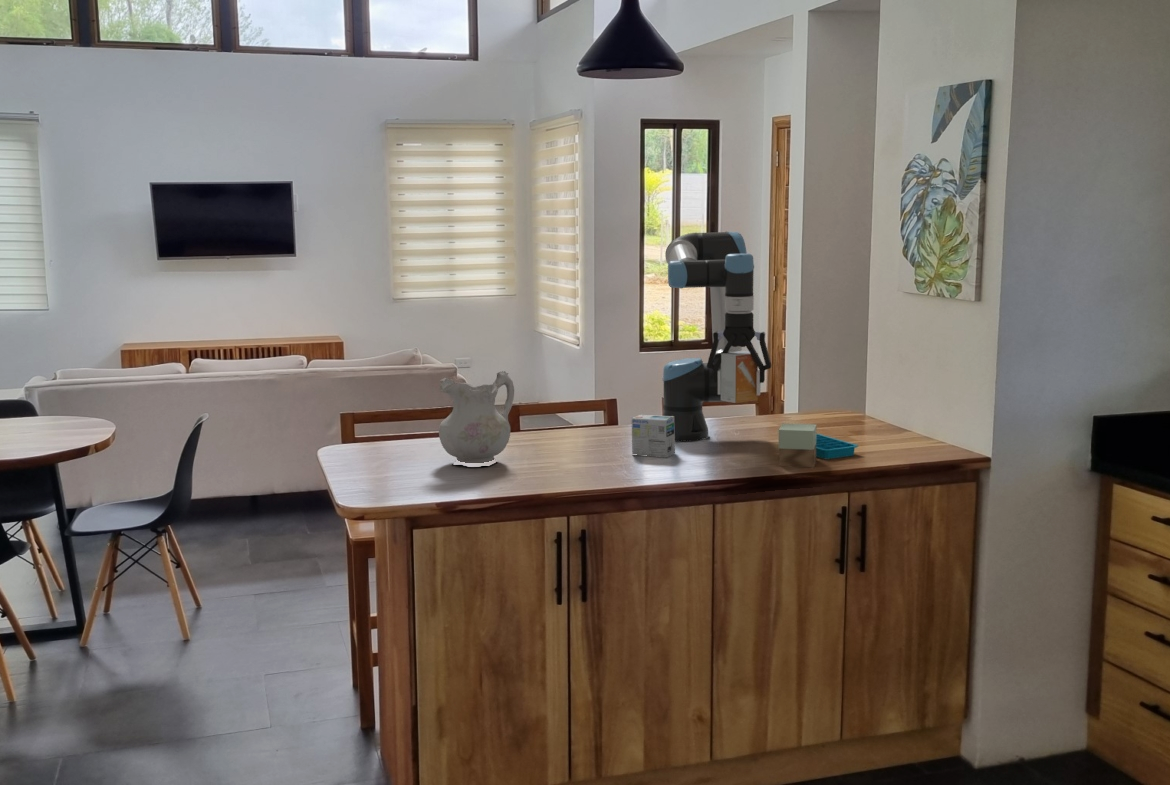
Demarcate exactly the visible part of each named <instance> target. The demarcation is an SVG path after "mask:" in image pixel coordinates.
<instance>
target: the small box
mask: <svg viewBox="0 0 1170 785" xmlns="http://www.w3.org/2000/svg"><path fill="white" fill-rule="evenodd" d="M757 355H758V356H759V353H758V352H757ZM757 370H759V368H758V366H757V364H756V363H755V361H754V359H753V357H752V355H751V354H750V352H749V350H742V351H737V352H729V353H721V400H722V401H726V402H725V403H727V402H728V403H733V404H739V403H745V402H746V403H747V402H753V401H758V395H757Z"/></svg>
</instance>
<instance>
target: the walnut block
mask: <svg viewBox="0 0 1170 785" xmlns="http://www.w3.org/2000/svg"><path fill="white" fill-rule="evenodd" d="M778 451H779V453H778V454H779V455H778V457H779V461H778V466H779V467H795V468H800V467H801V468H815V465H816V462H817V456H816V445H815V447H814V449H813V450H807V449H781V448H779V447H778Z"/></svg>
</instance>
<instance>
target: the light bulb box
mask: <svg viewBox="0 0 1170 785" xmlns="http://www.w3.org/2000/svg"><path fill="white" fill-rule="evenodd" d="M631 452H632V453H631V455H632V454H637V455H647V456H646V457H649V456H657V457H656V458H663V457H667V458H669V457H671V456H673V455H674V454H675V453H676V441H675V425H674V416H662V415H656V414H655V415H654V414H653V415H652V414H638V415H636V416H634V417H631Z"/></svg>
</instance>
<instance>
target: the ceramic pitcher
mask: <svg viewBox="0 0 1170 785" xmlns="http://www.w3.org/2000/svg"><path fill="white" fill-rule="evenodd" d="M508 374H509V373H507V371H506V370H505V371H498V372H497V373H496V379H495V380H494V382H492V384H489V383H488V384H481V385H477V386H474V385H471V384H469V383H467V382H464V381H463V382H457V381H456V382H455V381H454V380H453V379H452V378H451V379H450V378H448V377H444V378H442V379H440V384H439V390H440V392H442V393H445V394H447V395H448V396H449V397H450V398H451V400H452V405H453V407H452V412H450V413H449V415H448V416H447V417H445V418H444V419H443V420H442V421H441V423H440V424H439V427H438V437H439V441H440V444H441V446H442V448H443V449H444V450H445V452H446V453H447V454H449V455H450V456H452V457H454V458H456V459H457V460H458V461H460V462H465V463H484V462H489V461H492V460H494V459H495V456H497V455H499V454H501V453H502V452H504V450H505V448H506V447H507V445H508V444H509V441H510V438H511V437H510V436H511V425H510V423H509V413H510V411H511V409H512V407H513V401H514V398H515V386H514V382H513V380H512V378H511V377H510V376H509V375H508ZM503 386H505V387H506V399H505V402H504V404H503V405H504V406H503V408H502V409H503V410H502V414H500V413H499V412H498V410H497V409H496V406H495V405H496V404H495V403H496V397H497V394H498V392H499V389H500V388H501V387H503Z"/></svg>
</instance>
